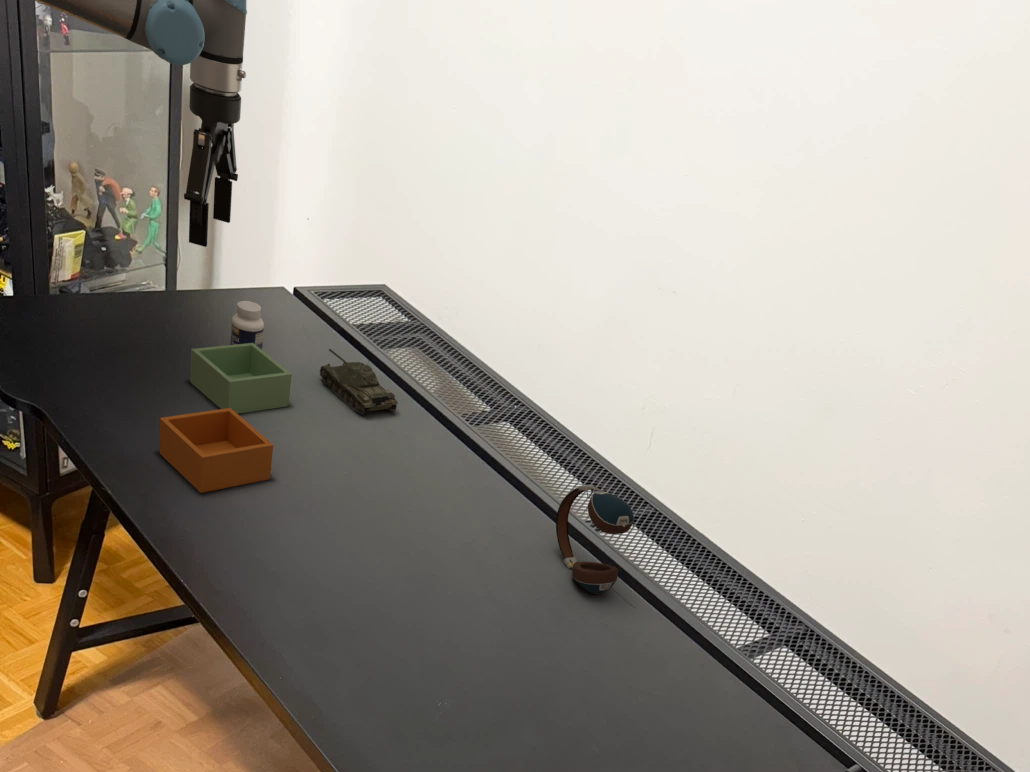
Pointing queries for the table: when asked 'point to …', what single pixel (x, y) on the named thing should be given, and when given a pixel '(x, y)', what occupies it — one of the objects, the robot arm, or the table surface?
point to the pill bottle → (247, 324)
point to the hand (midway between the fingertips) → (210, 232)
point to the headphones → (608, 518)
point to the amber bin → (215, 449)
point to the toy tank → (357, 386)
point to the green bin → (240, 377)
